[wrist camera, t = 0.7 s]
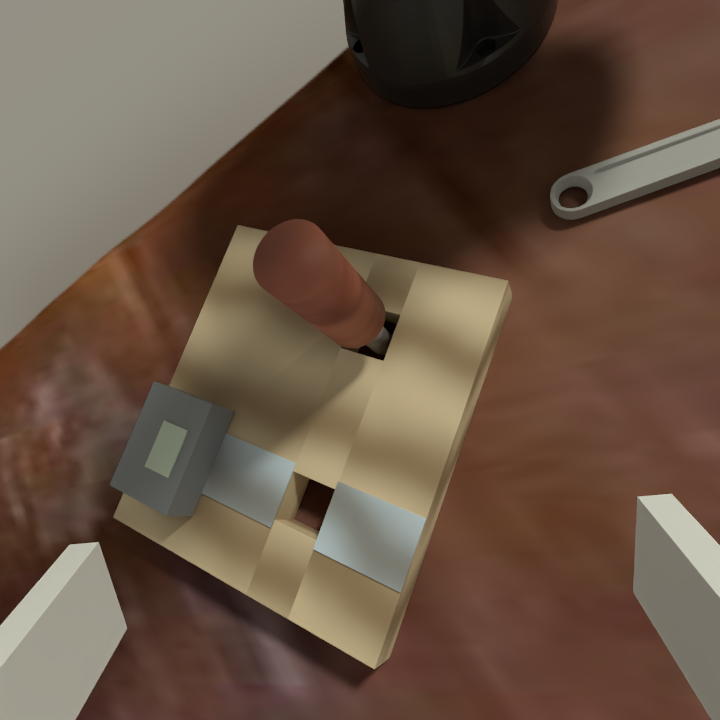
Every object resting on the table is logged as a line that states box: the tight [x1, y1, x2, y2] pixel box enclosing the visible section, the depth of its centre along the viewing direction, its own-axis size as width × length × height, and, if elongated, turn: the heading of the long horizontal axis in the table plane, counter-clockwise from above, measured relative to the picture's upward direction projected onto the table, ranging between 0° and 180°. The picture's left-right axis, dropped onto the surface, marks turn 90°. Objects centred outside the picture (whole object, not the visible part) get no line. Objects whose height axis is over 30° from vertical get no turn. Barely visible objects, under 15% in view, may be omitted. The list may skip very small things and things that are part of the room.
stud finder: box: [110, 381, 235, 516], centre depth 34 cm, size 7×5×2 cm
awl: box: [253, 219, 393, 355], centre depth 29 cm, size 4×4×13 cm
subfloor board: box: [113, 225, 512, 669], centre depth 34 cm, size 22×20×3 cm
